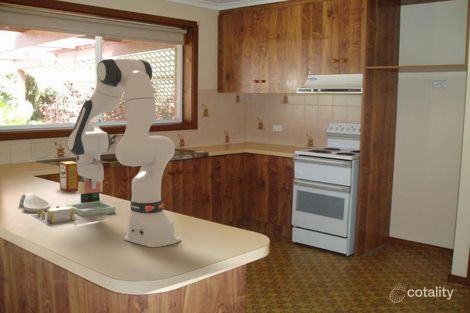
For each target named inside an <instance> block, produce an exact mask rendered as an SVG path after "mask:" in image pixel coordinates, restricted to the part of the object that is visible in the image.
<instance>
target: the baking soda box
mask: <svg viewBox="0 0 470 313" xmlns="http://www.w3.org/2000/svg"><path fill="white" fill-rule="evenodd" d="M58 163H59V170H58V171H59V189H60V190H62V191H64V190H65V192H74V191H78V182H79V175H78V172H77V162H75V161H72V160H67V161H59V162H58Z"/></svg>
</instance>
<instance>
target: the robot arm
mask: <svg viewBox="0 0 470 313" xmlns="http://www.w3.org/2000/svg"><path fill="white" fill-rule="evenodd" d="M96 75H97V78H98V79H97V82H96V85H95V90H94V92H93V94H92V95H91V96H90V97H89V98H88V99H87V100H85V101H84V103H83V105H82V106H81V109H80V111H79V114H78V117H77V118H76V121H75V124H74V126H73V128H72V130H71V132H70V134H69V136H68V138H67V141H66V143H67V148H68V151H69V152H71V153H72V154H73V155H75V160H76V163H77V172H78V176H79V177H80V176H83V177H84V180H85V181H89V179H91V181H92V185H91V188H92V189H95V188H96V183H97V181H104V178H105V174H104V173H105V172H104V166H103V164H102V163H101V154H103V153H107V152H108V151H109V150H110V149H111V147H112V137H111V135H110V134H109V133H108V132H107V131H104V130H103V129H101V128H100V125H99V123H98V122H91V121H92V120H93V119H94V118H95V117H97V116H99V115H102V114H105V113H108V112H112V111H113V110H116V109H117V108H118V107H119V106H120V104H121V101H122V99H123V94H124V101H125V102H124V103H125V112H126V127H125V130H124V131H125V132H124V134H123V136H122V138H121V139H119V141H118V142H117V144H116V146H115V152H114V153H115V158H116V160H117V161H118V162H119V164H121V166H127V167H140V166H141V167H140V169H139V171H138V173H136V175H135V176H134V177H133V178H132V180H131V200H130V204H129V206H130V210H131V212H130V214H129V216H128V219H127V231H126V235H125V236H124V241H128V242H131V243H135V244H138V245H142V246H144V247H148V248H158V247H164V246H169V245H173V244H176V243H179V242H181V241H182V240H181V239H182V238H181V237H180V236H178V235H176V234H175V224H174V221H173V220H171V219H170V217H168V215H167V214H166V212H165V211H164V210H165V207H164V206H165V204H164V203H163V200H162V198H161V197H162V194H161V193H162V178H163V176H164V171H165V169H166V167H167V164H168V163H169V162H170V160H172V158H173V157H174V155H175V152H176V151H175V150H176V147H175V144H174V141H173V140H172V139H171V138H170V137H167V136H164V135H150V134H149V133H150V129H151V126H152V125H153V124H154V123H155V122H156V120H157V117H158V116H157V110H156V109H157V108H156V103H155V102H156V101H155V93H154V88H153V85H152V77H153V69H152V65H151V64H150V63H149V61H147V60H144V59H140V58H139V59H136V58H127V57H105V58H103V59H100V61H99V62H98V63H97V67H96Z"/></svg>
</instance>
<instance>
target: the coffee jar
mask: <svg viewBox="0 0 470 313" xmlns="http://www.w3.org/2000/svg"><path fill="white" fill-rule="evenodd" d="M79 177H80V182H82V181H85V180H84V177H83V176H80V175H79ZM89 181H91V179H89ZM94 201H101V200H100V192H95V193H87V194H81V193H80V203H87V202H94Z"/></svg>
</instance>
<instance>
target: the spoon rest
mask: <svg viewBox="0 0 470 313" xmlns="http://www.w3.org/2000/svg"><path fill="white" fill-rule="evenodd" d="M18 206H19V207H23V208H24V209H25V211H27V212H29V213H37V209H41V213H42V211H45V212H47V209H51V207H52V204H51V202H50V201H48V200H46V199H44V198H42V197H40V196H38V195H37V194H35V193H33V192H29V193H23V194H22V195H21V196H20V199H19V204H18Z"/></svg>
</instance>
